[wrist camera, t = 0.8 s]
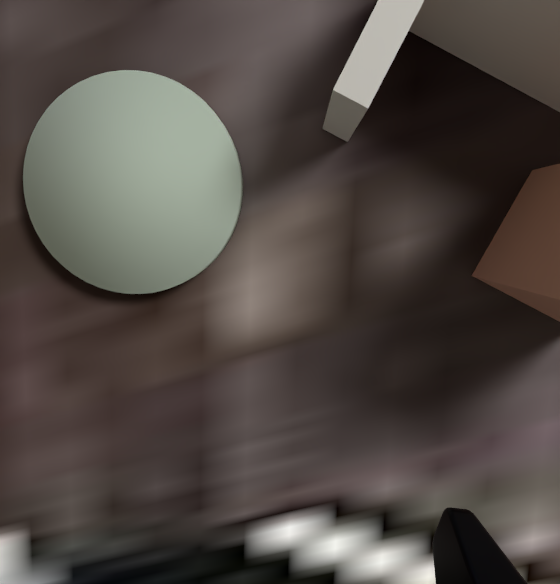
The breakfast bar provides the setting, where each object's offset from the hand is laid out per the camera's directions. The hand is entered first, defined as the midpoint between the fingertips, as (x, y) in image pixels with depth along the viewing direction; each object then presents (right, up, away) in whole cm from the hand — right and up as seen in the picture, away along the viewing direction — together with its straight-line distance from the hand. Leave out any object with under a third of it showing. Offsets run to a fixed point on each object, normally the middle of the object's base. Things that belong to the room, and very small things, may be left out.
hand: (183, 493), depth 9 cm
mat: (-4, +8, +13) cm, 16 cm away
